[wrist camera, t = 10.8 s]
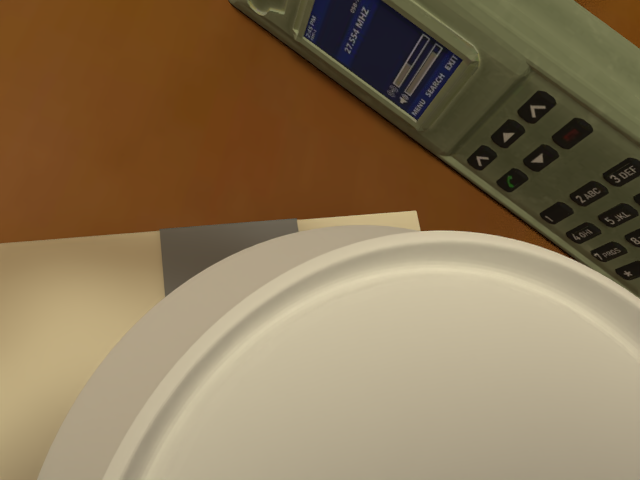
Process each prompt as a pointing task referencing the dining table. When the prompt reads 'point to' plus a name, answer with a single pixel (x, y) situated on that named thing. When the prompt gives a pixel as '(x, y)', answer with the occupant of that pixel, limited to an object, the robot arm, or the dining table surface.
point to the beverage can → (369, 368)
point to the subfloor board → (99, 312)
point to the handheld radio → (498, 103)
